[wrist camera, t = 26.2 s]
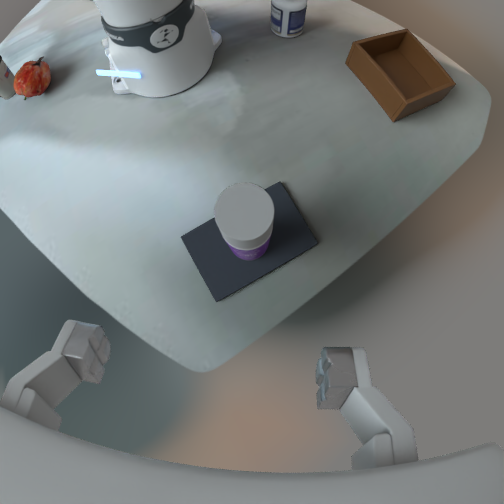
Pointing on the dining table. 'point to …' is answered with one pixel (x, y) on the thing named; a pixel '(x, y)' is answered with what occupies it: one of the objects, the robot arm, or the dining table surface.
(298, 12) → the pill bottle
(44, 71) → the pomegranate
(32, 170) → the dining table surface
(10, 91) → the coffee cup
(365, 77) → the wooden tray
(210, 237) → the pad
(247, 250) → the container
